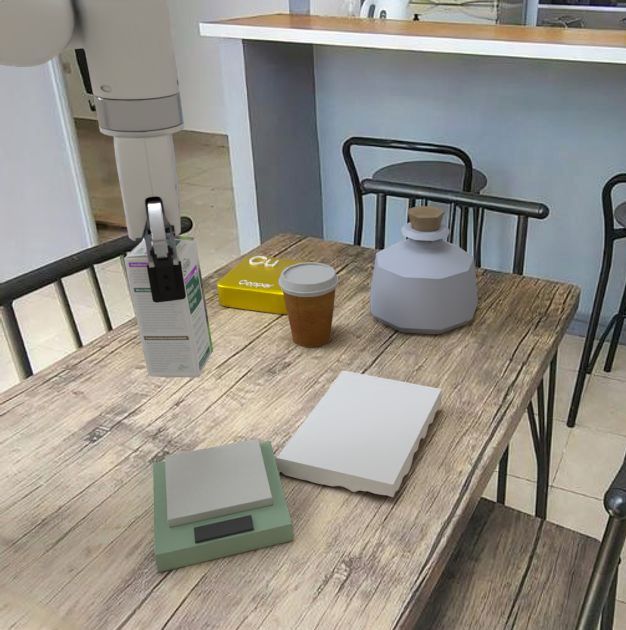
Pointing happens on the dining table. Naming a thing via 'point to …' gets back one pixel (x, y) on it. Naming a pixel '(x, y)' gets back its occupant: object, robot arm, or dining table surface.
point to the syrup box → (171, 315)
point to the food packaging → (361, 434)
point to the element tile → (255, 285)
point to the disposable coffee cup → (309, 301)
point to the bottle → (424, 278)
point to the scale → (218, 504)
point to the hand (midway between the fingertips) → (167, 283)
